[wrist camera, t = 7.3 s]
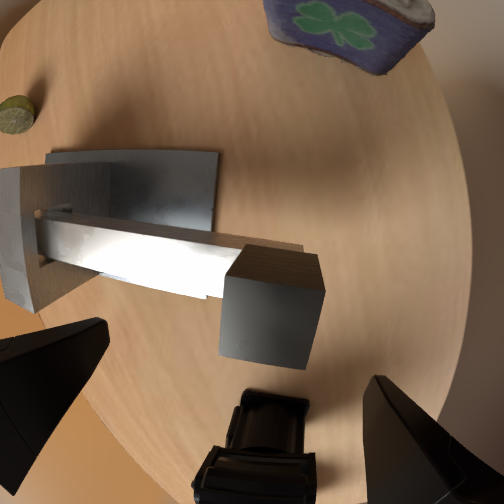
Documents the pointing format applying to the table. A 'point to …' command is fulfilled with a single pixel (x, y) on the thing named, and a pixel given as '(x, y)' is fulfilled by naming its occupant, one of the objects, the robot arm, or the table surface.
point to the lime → (16, 115)
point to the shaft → (205, 277)
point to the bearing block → (97, 209)
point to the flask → (352, 28)
